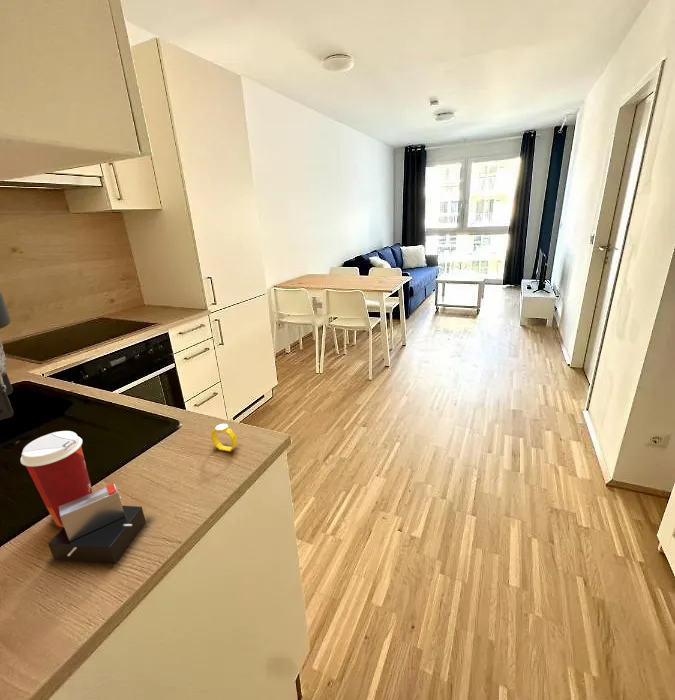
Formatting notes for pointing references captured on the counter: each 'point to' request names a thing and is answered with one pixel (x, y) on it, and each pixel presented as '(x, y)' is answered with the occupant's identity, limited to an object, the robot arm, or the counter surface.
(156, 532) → the counter surface
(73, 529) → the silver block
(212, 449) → the counter surface
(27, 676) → the counter surface
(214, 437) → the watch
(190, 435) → the counter surface
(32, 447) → the coffee cup
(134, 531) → the black square block
